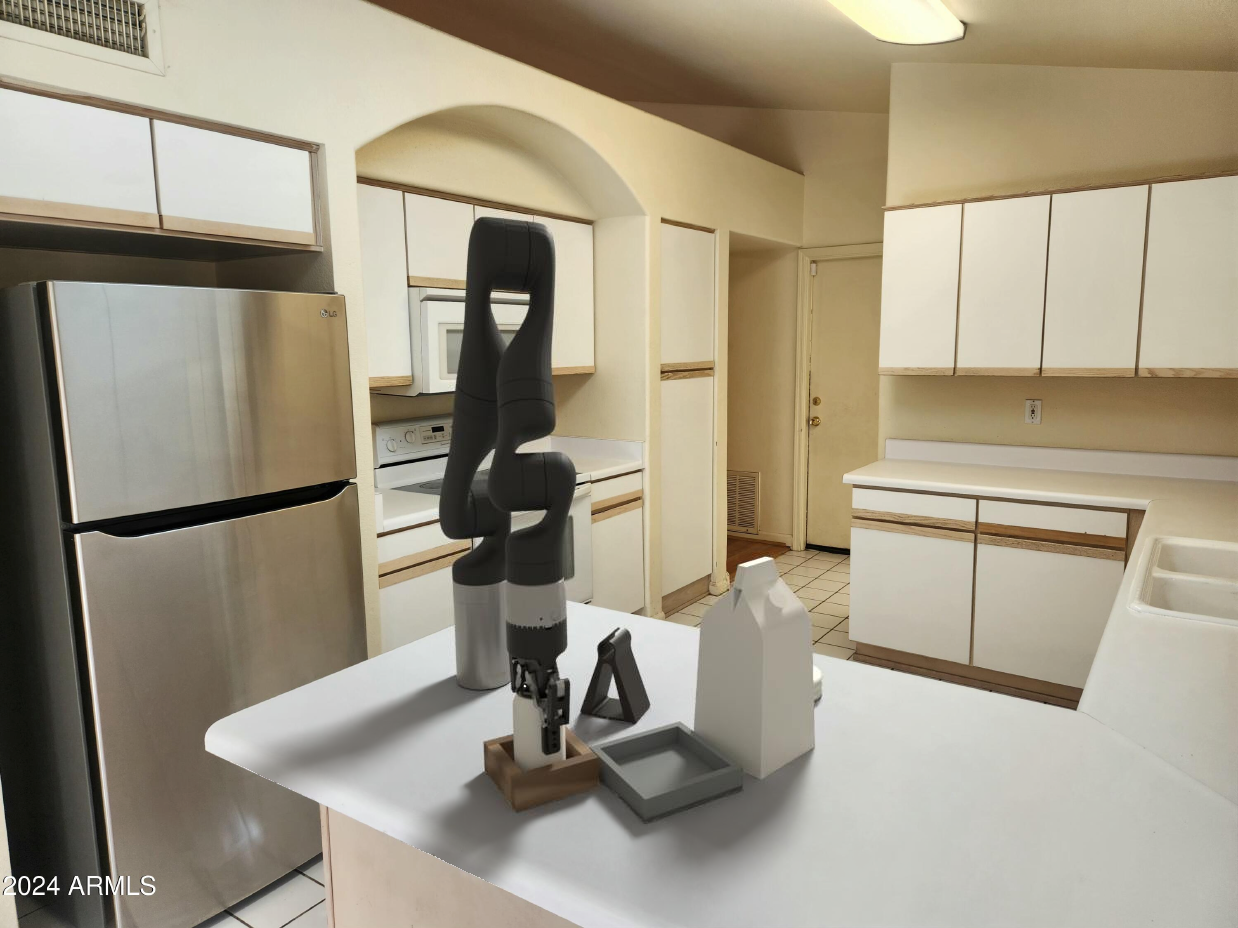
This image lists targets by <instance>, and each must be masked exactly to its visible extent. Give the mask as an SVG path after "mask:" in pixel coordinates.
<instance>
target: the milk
mask: <svg viewBox="0 0 1238 928" xmlns="http://www.w3.org/2000/svg"><path fill="white" fill-rule="evenodd" d="M811 617H812V616H811V614H810V612H809V611H808V609H807V608H806V606H805V605H804V604H803V602H802V601H801V600H800V599H799V598H798V597H797V595H796V594H795V593H794V592H793V591H792V590H791V588H790V587H789V586H788V585H787V583H786V582H785V581H784V580H783V579H782V578H781V577H780V573H779V570H778V568H777V564H776V562H775V558H773V557H769V556H763V557H760V558H757V559H753V560H750V561H747V562H744V563H739V564H737V569H736V572H735V577H734V581H733V585H732V588H730V589H729V590H728V591H727V592H726V593H725V594H723V595H722V596H721V597H720V598H718V599H717V601H715V602H714V603H713V604H711V605H710V607H709V608H707V609H706V610H705V612H704V613H703V615H702V616H701V619H700V624H699V625H700V626H699V640H698V643H699V644H698V654H697V655H698V657H697V670H696V671H697V672H696V675H697V676H696V689H695V702H694V703H695V704H694V705H695V706H694V719H693V721H694V722H693V731H694V732H695V733H697V734H698V735H699V736H701V737H702V738H704V739H705V740H706V741H708V742H709V743H710V744H712V745H713V746H715V747H716V748H717V749H719V750H720V751H721V752H723V753H724V754H726V755H727V756H728V757H730V758H731V759H732V760H734V761H735V762H737V763H738V764H739V765H741V766H742V767H743V773H745V774H748V775H751V776H752V777H754V778H756V779H758V780H763V779H764V778H766V777H767V776H769V775H771V774H772V773H774V772H776V771H777V770H779V769H781V768H782V767H784V766H787V764H789V763H790V762H793V761H794V760H796V759H797V758H798V757H800V756H803V755H804V754H805V753H807V752H809V751H810V750H813V749H814V748H815V747H816V734H815V733H816V732H815V729H816V728H815V701H814V684H813V666H814V654H813V653H814V651H813V649H814V648H813V623H812V622H813V621H812V618H811Z"/></svg>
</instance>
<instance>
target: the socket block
mask: <svg viewBox="0 0 1238 928" xmlns="http://www.w3.org/2000/svg"><path fill="white" fill-rule="evenodd" d="M482 742H483V762H484V763H483V766H484V772H485V773H486V774H487V776H488V777H489V778H490V780H491V782H493V784H494V785H495V787H496V788H497V789H498V791H499V792H500V793H501V794H502V796H503V797H504V799H506V801H507V802H508V804H509V805H510V806H511V807H512V808H513V810H514V812H515V813H516V814H517V813H520V812H523V811H526V810H530V809H533V808H536V807H539V806H542V805H546V804H549V803H552V802H556V801H559V800H563V799H565V798H569V797H572V796H575V795H577V794H582V793H585V792H588V791H591V790H594V789H597V788H600V778H599V757H598V756H597V755H596V754H595V753H594V752H593V751H592V750H591V749H590V748H589V747H588V745H587V744H585V743H584V742H583V740H581V739H580V738H579V737H578V736H577V735H576V734H575V733H574V732H573V731H572V730H571V729H570V728H568V727H567V725H565V752H566V760H563V761H559V762H556V763H552V764H549V765H545V766H542V767H538V768H535V769H531V770H528V771H524V772H522V771H521V770H520V769H519V767H518V766H517V765H516V764H515V762H514V735H513V733H511V734H507V735H504V736H500V737H496V738H492V739H489V740H484V741H482Z"/></svg>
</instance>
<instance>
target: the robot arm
mask: <svg viewBox="0 0 1238 928" xmlns="http://www.w3.org/2000/svg"><path fill="white" fill-rule="evenodd" d="M467 244H468V246H467V260H466V273H465V274H466V275H465V276H466V277H465V298H464V317H463V318H464V320H463V329H462V339H461V343H460V344H461V346H460V353H459V358H458V359H459V360H458V365H457V366H458V367H457V373H456V379H455V389H454V398H453V410H452V411H453V413H452V420H451V421H452V424H451V435H450V441H449V442H450V443H449V449H448V454H447V455H448V456H447V460H446V465H445V470H444V475H443V480H442V485H441V490H440V494H439V500H438V501H439V502H438V504H439V505H438V517H439V520H438V521H439V526H440V529H441V531H442V533H443V535H444V536H446V538H448V539H449V540H450V539H451V540H454V541H459V540H460V541H461V540H470V539H477V538H478V539H479V538H482V540H481V542H480V543H479V544H478V545H477V546H476V547H474V548H473V549H472V550H470V551H469V552H467V553H465V554H463V555H462V556H460V557H458V558H456V559H455V561H454V562H453V564H452V566H451V578H452V598H453V617H454V618H453V619H454V641H455V642H454V643H455V663H456V664H455V665H456V668H455V669H456V682H457V684H458V685H459V686H461V687H463V688H465V689H470V690H490V689H495V688H499V687H500V688H501V687H502V686H505V685H507V684H509V683H510V690H511V692H512V694H513V693H514V694H516V688H517V687H518V686H519V688H520V689H521V688H524V687H525V686H526V689H527V690H528V691H531V696H532V699H533V700H532V701H533V705H534V707H535V708H536V709H538V710H539V715H540V720H541V724H542V725H541V741H542V752H543V753H544V754H545V755H551V754H554V753H558V752H559V751H560V748H561V747H560V726H562V725H565V726H567V725H569V724H570V718H571V717H570V714H571V713H570V710H571V681H570V679H569V677H566V678H561V677H560V672H559V667H558V663H557V659H558V657H559V656H560V655H562V654H563V653H565V651H567V648H568V615H567V613H568V611H567V590H566V586H565V585H566V583H565V577H564V574H565V573H564V540H565V532H566V527H567V521H568V517H569V514H570V509H571V506H572V503H573V500H574V495H575V491H576V487H577V470H576V467H575V465H574V462H573V461H572V459H571V458H570V457H569V456H568V455H567V454H565V453H563V452H561V451H541V452H540V451H539V452H520V453H519V452H517V450H518V449H519V447H521V446H523V445H524V444H526V443H531V442H534V441H537V440H541V439H543V438H546V437H548V436H550V435H551V434H552V433H553V432H554V431H555V428H556V424H557V423H556V422H557V417H556V416H557V415H556V406H555V405H556V404H555V394H554V392H555V391H554V383H553V382H554V381H553V367H552V366H553V365H552V363H553V362H552V361H553V360H552V359H553V358H552V357H553V356H552V352H553V351H552V349H553V332H554V320H555V319H554V314H555V294H556V293H555V291H556V290H555V289H556V264H557V263H556V262H557V261H556V247H555V240H554V236H553V233H552V231H551V229H550V228H549V226H547V225H546V224H543V223H539V222H537V221H536V222H535V221H530V220H521V219H520V220H519V219H511V218H504V217H494V216H492V217H491V216H480V217H478V218H476V220H475V221H474V222H473V224H472V227H471V230H470V234H469V237H468V243H467ZM493 291H505V292H506V291H507V292H517V293H526V294H528V295H529V299H528V300H529V301H528V308H527V312H526V315H525V317H524V319H523V321H522V323H521V325H520V327H519V328H518V330H517V331H516V333H515V335H514V336H513V338H512V339H511V341H510V342H509V344H508V345H507V343H506V341H505V340H504V337H503V336H502V332H500V329H499V327H498V324H497V321H496V319H495V315H494V314H493V310H492V305H491V297H492V296H491V295H492V292H493ZM494 448H495V449H494ZM493 450H494V453H493V457H492V461H491V465H490V467H489V472H488V475H487V476H488V478H484V479H475V476H476V474H477V472H478V470H479V467H480V466H481V464H482V463H483V461H485V459H486V458H487V456H488V455H489V454H490V453H491V452H492V451H493ZM538 511H540V512H541V511H545V514H544V516H543V518H542V519H540V520H539V522H537V523H535V524H533V525H530V526H526V527H523V528H520V529H517V530H513V531H512V513H521V512H538ZM524 683H525V685H524ZM523 685H524V686H523ZM545 695H547V699H546V700H541V699H540V697H541V696H545ZM546 706H547V714H546V709H545V707H546ZM561 709H562V711H561Z"/></svg>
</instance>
